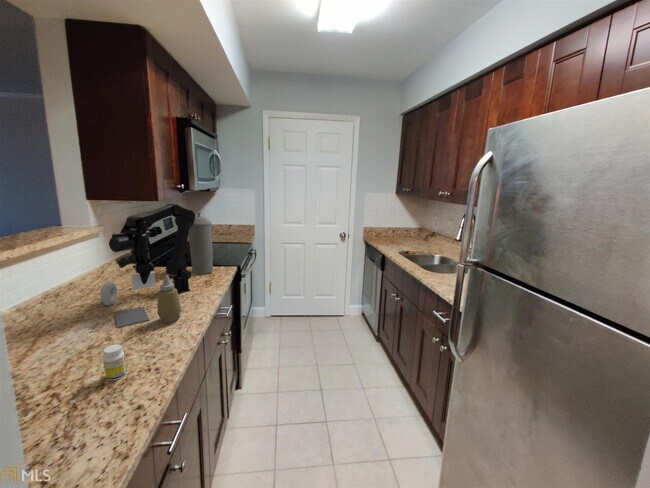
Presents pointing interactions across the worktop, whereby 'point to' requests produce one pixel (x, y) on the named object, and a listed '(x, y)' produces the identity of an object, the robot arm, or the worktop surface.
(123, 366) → the supplement bottle
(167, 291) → the squeeze bottle
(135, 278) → the tile
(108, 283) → the donut
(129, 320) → the mat
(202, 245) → the canister
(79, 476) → the worktop surface
